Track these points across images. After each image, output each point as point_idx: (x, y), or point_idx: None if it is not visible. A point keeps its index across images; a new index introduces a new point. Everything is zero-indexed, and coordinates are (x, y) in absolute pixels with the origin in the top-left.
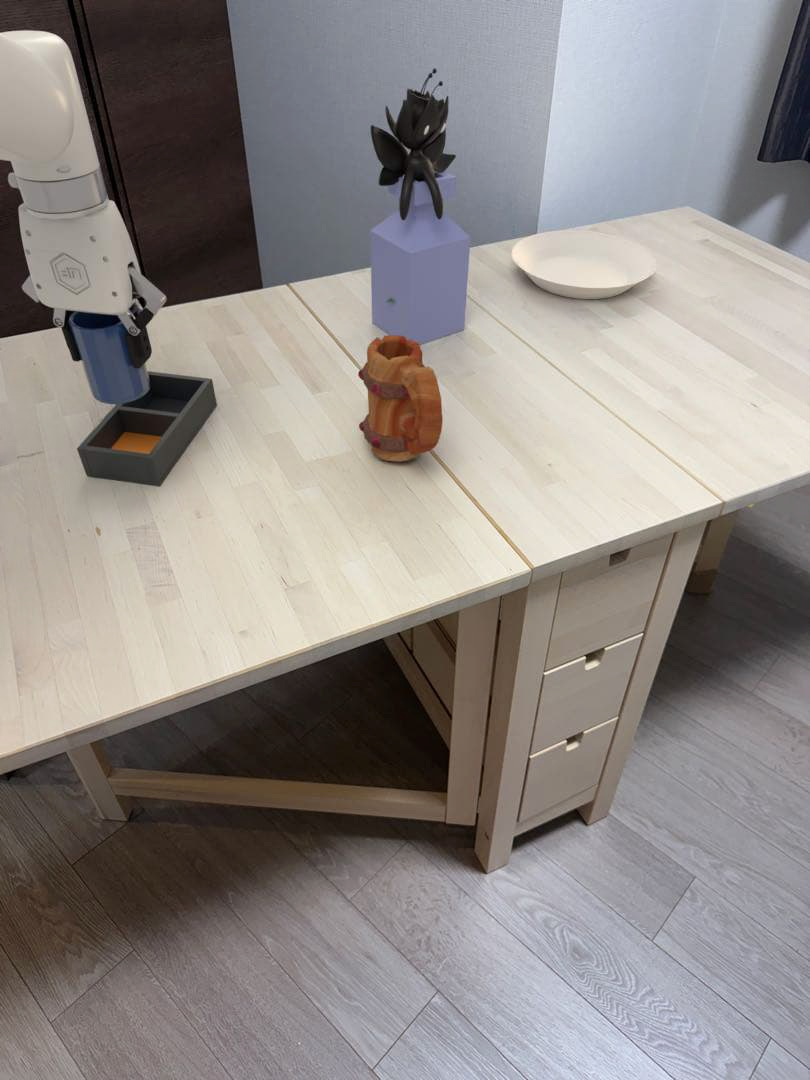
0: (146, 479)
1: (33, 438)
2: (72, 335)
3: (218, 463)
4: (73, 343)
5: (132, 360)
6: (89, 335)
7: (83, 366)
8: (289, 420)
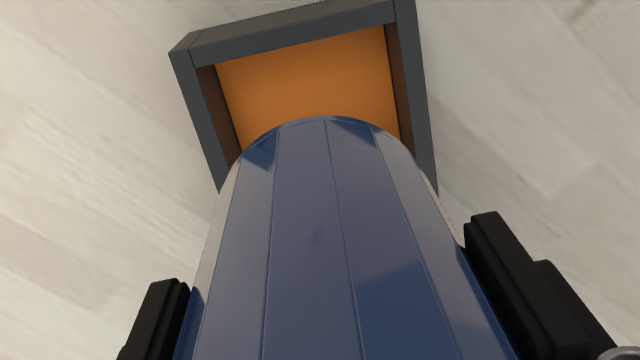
0: (218, 28)
1: (626, 58)
2: (519, 324)
3: (131, 168)
4: (500, 281)
5: (159, 304)
6: (287, 344)
7: (423, 198)
8: (113, 341)
